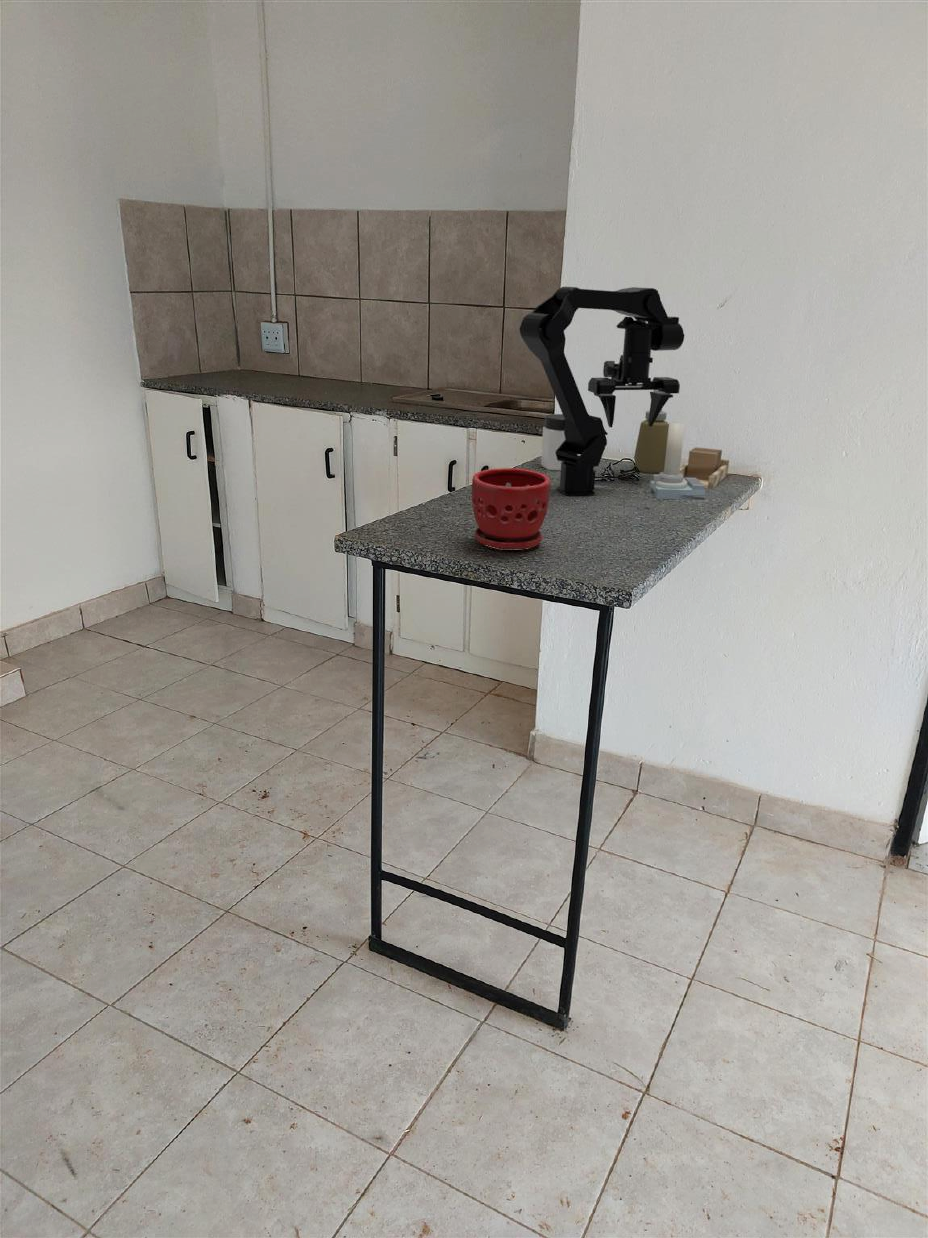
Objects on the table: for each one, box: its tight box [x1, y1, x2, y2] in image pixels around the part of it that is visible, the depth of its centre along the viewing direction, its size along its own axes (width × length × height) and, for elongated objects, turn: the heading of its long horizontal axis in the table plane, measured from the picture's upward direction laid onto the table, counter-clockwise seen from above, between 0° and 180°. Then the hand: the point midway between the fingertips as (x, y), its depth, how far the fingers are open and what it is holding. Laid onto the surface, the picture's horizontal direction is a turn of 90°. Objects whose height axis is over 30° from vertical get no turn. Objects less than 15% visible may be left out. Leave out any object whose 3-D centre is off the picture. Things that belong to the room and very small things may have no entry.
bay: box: [679, 458, 730, 490], centre depth 201 cm, size 16×9×4 cm, turn 153°
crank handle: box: [652, 421, 685, 483], centre depth 188 cm, size 6×5×12 cm
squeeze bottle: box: [633, 408, 669, 474], centre depth 207 cm, size 8×8×18 cm
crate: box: [686, 446, 723, 480], centre depth 203 cm, size 6×6×6 cm
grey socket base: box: [649, 478, 706, 501], centre depth 191 cm, size 10×8×3 cm
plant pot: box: [471, 467, 551, 549], centre depth 152 cm, size 13×13×12 cm
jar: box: [540, 413, 580, 472], centre depth 213 cm, size 9×8×12 cm
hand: (630, 426), depth 193 cm, fingers open, 9 cm apart
